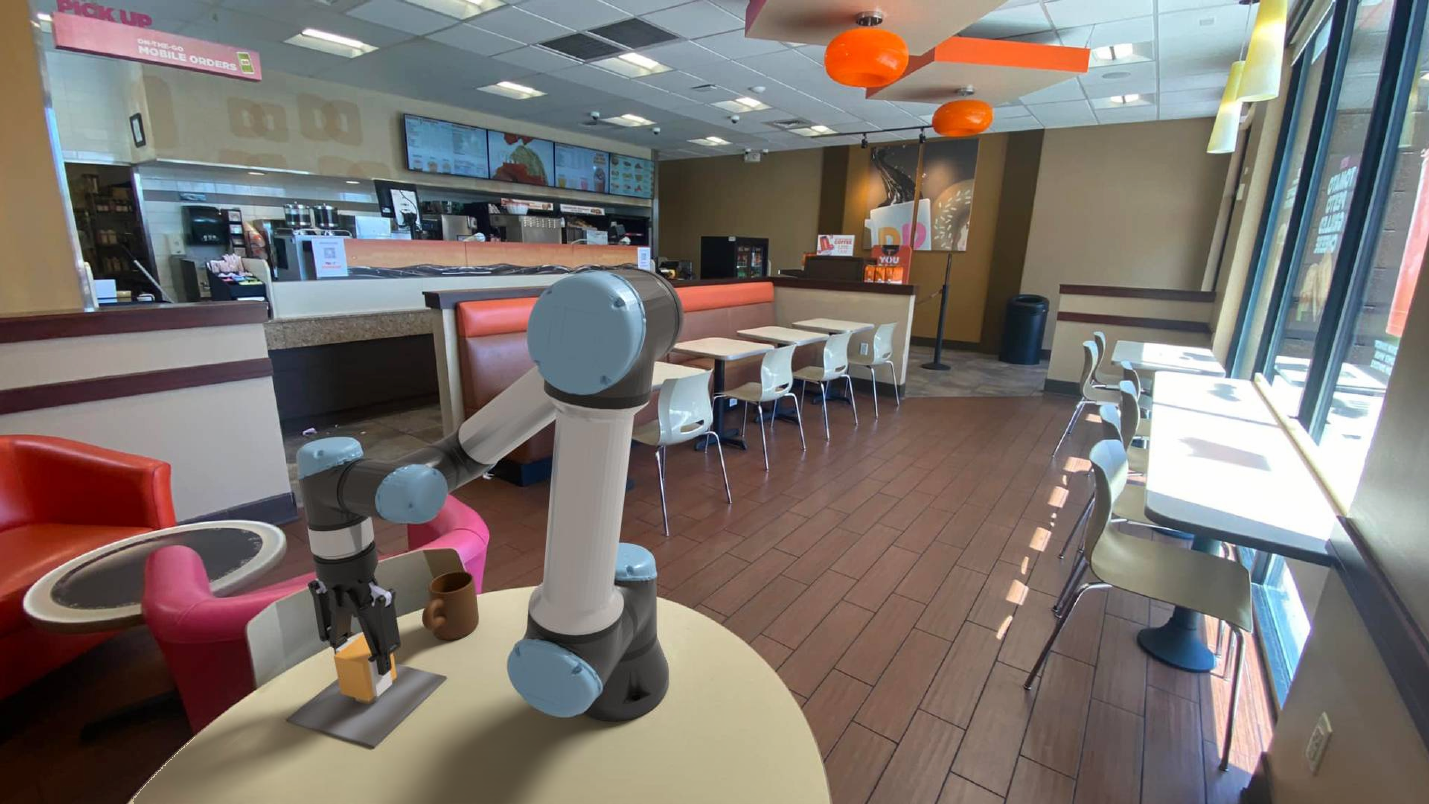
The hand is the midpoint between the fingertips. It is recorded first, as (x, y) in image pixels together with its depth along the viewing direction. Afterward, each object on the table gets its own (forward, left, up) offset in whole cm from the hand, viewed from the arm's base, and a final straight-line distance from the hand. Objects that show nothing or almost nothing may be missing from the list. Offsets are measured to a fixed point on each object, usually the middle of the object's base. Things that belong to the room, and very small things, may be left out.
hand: (367, 685), depth 89 cm
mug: (-1, -16, -3) cm, 16 cm away
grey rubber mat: (0, 0, -2) cm, 2 cm away
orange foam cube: (0, 0, 0) cm, 0 cm away
